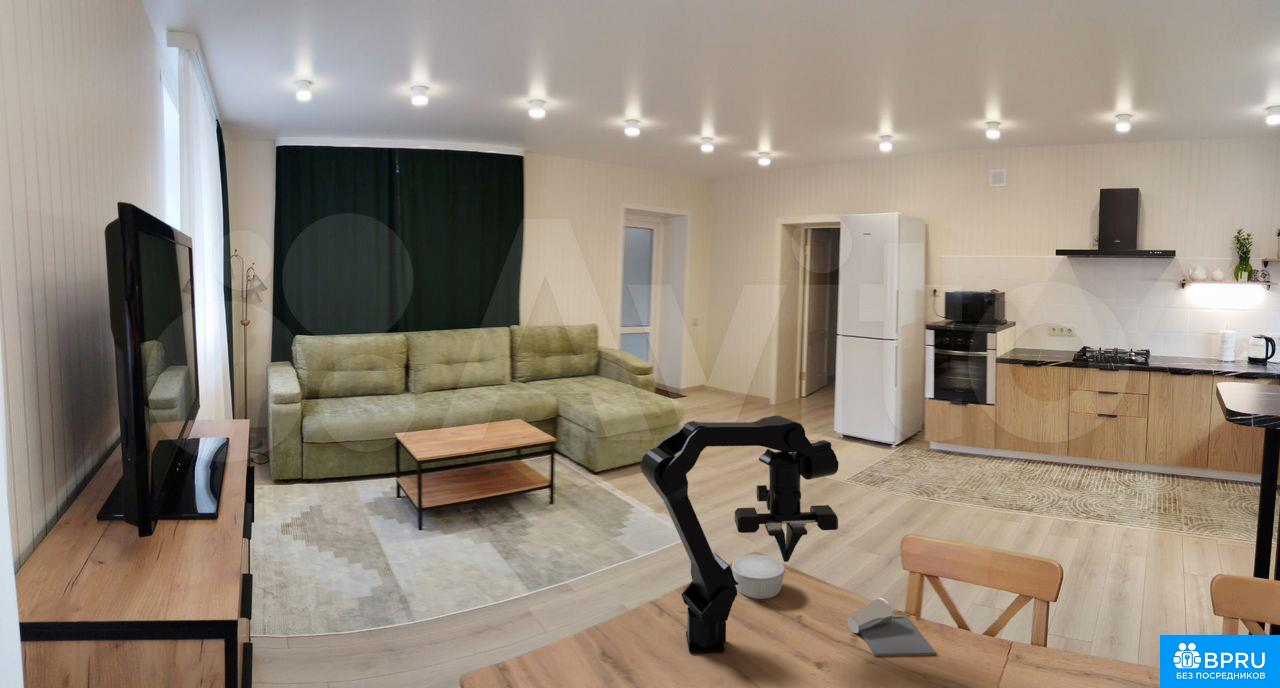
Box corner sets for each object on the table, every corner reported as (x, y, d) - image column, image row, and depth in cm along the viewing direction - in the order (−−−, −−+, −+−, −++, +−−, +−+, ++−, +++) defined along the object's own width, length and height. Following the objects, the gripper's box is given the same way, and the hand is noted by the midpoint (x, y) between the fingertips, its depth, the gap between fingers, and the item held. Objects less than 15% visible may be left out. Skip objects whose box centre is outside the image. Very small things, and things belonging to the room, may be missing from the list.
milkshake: (865, 627, 121) (905, 608, 126) (845, 607, 126) (884, 589, 130) (862, 645, 123) (901, 626, 127) (842, 625, 128) (881, 607, 132)
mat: (874, 656, 118) (875, 653, 118) (851, 619, 130) (851, 617, 130) (935, 655, 118) (935, 652, 118) (906, 618, 130) (906, 616, 130)
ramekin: (724, 594, 140) (724, 571, 139) (741, 572, 150) (741, 550, 149) (775, 607, 135) (776, 582, 134) (790, 583, 145) (790, 560, 144)
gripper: (823, 467, 132) (823, 541, 134) (730, 470, 133) (732, 544, 135) (839, 487, 121) (838, 567, 123) (737, 490, 122) (739, 570, 124)
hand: (785, 560), depth 127 cm, fingers closed
